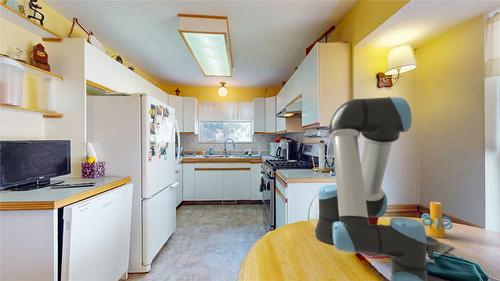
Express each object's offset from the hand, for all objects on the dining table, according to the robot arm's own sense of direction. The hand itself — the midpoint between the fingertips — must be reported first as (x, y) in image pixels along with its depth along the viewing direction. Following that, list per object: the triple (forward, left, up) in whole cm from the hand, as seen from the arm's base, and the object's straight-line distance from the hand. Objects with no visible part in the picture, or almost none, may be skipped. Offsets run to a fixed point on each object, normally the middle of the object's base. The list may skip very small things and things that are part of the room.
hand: (405, 236), depth 82 cm
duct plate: (0, +14, -7) cm, 15 cm away
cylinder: (-1, +31, -7) cm, 31 cm away
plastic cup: (-22, +14, -7) cm, 27 cm away
